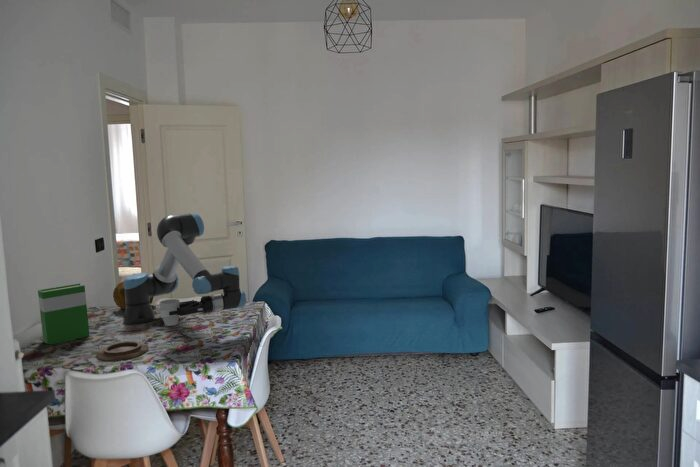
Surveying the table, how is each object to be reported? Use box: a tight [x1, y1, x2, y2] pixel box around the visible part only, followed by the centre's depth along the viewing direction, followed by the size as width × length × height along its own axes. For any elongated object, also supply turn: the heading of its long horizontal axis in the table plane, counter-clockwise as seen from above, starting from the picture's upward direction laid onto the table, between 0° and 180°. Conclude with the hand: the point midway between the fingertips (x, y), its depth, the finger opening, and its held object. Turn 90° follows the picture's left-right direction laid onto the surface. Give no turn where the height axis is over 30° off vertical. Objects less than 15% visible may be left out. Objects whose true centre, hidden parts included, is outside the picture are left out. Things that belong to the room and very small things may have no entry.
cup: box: [159, 298, 180, 327], centre depth 235 cm, size 8×8×10 cm
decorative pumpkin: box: [112, 280, 154, 310], centre depth 303 cm, size 20×21×20 cm
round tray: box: [96, 340, 149, 362], centre depth 229 cm, size 20×20×2 cm
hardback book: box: [37, 283, 91, 345], centre depth 250 cm, size 18×7×24 cm, turn 133°
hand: (158, 312), depth 232 cm, fingers closed on cup, 8 cm apart
